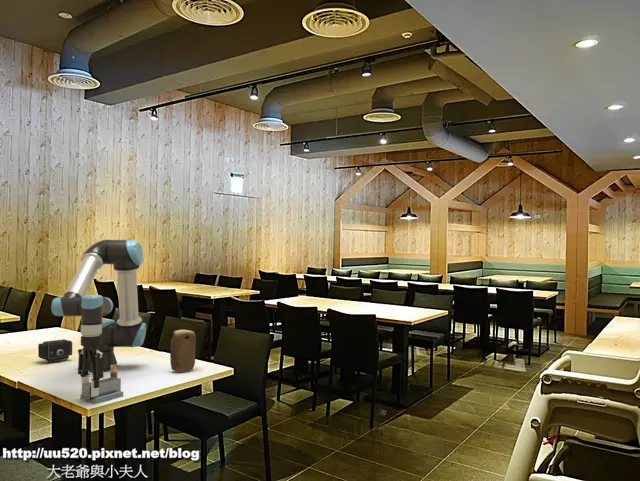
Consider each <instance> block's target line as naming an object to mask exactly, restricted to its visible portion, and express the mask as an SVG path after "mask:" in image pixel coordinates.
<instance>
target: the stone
mask: <svg viewBox="0 0 640 481" xmlns="http://www.w3.org/2000/svg"><path fill="white" fill-rule="evenodd" d="M172 335H173V336H172V338H171V341H170V351H169V352H170V354H169V355H170V356H169V357H170V359H169V360H170V367H171V368H170V369H171V370H172V371H174V372H177V373H187V372H191V371H193V369H194V367H195V364H196V348H197V337H196V333H195V331H193V330H188V329H178V330H174V331H173V333H172Z"/></svg>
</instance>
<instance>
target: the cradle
mask: <svg viewBox="0 0 640 481" xmlns="http://www.w3.org/2000/svg"><path fill="white" fill-rule="evenodd" d="M79 396H80V398H79V399H80V400H82V401H84V402H89V403H92V404H96V405H97V404H101V403H104V402H108V401H110V400H111V401H112V400H115V399H119V398H122V397H124V391H120V392H116V393H112V394H108V395H104V396H101V397H97V398H94V399H93V400H85V399H82V394H80V395H79Z"/></svg>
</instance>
